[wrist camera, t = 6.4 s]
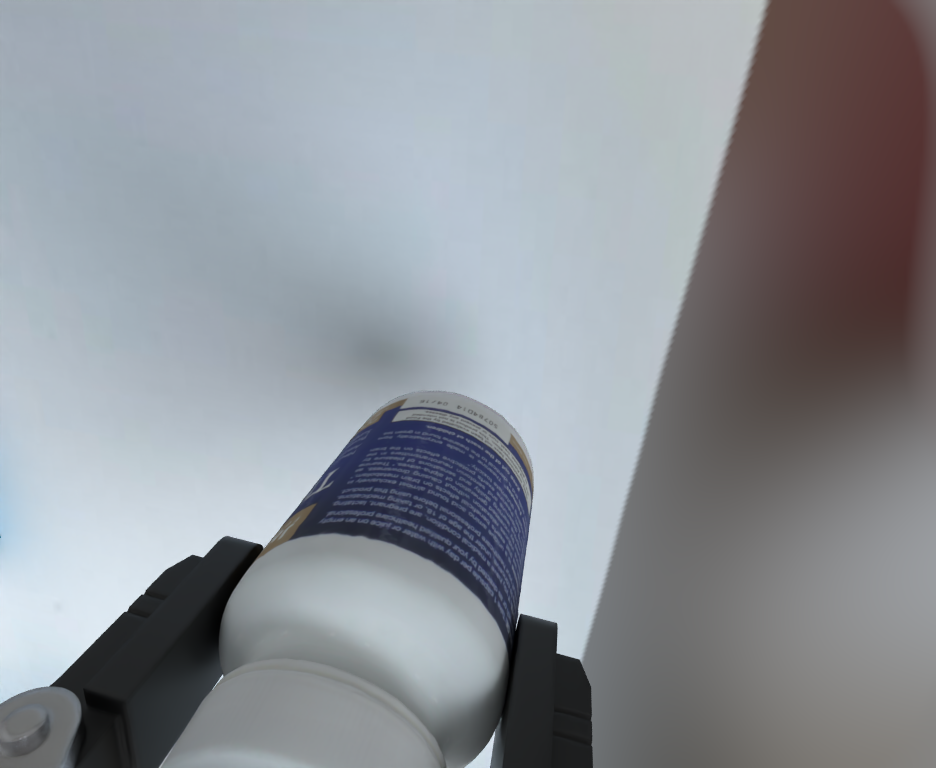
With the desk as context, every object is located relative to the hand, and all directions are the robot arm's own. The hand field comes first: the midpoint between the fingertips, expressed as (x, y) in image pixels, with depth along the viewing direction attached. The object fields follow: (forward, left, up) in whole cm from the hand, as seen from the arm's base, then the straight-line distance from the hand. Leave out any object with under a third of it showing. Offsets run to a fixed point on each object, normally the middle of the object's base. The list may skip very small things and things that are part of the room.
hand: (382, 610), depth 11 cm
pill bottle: (0, 0, -6) cm, 6 cm away
